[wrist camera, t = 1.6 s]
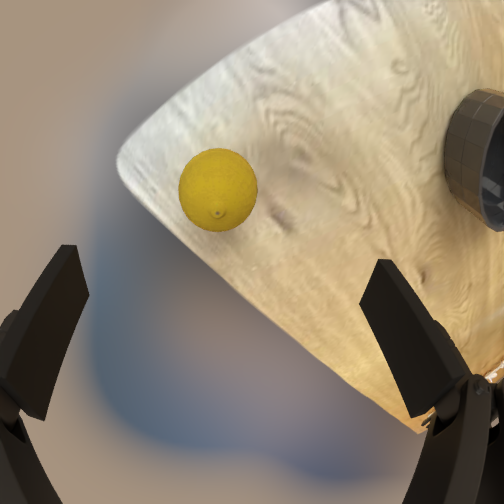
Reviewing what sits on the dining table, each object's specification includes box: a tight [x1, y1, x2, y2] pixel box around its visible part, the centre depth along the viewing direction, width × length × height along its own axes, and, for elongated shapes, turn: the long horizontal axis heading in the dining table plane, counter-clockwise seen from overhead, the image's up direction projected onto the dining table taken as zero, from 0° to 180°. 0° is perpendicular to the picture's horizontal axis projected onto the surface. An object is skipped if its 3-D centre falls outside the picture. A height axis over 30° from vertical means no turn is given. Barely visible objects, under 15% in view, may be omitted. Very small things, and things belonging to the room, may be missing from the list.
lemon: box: [178, 148, 257, 232], centre depth 20 cm, size 6×6×8 cm
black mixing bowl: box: [444, 89, 504, 232], centre depth 21 cm, size 15×15×6 cm
